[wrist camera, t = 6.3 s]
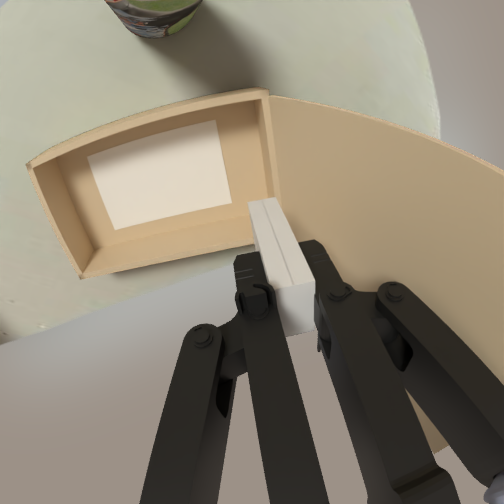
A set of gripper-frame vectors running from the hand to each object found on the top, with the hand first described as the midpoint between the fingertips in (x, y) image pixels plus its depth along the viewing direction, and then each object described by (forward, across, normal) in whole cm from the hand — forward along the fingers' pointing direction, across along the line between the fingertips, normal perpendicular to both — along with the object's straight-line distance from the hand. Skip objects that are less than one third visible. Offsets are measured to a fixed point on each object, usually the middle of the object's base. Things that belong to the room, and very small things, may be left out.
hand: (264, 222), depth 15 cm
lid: (-3, +4, 0) cm, 5 cm away
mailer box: (+12, -8, 0) cm, 14 cm away
